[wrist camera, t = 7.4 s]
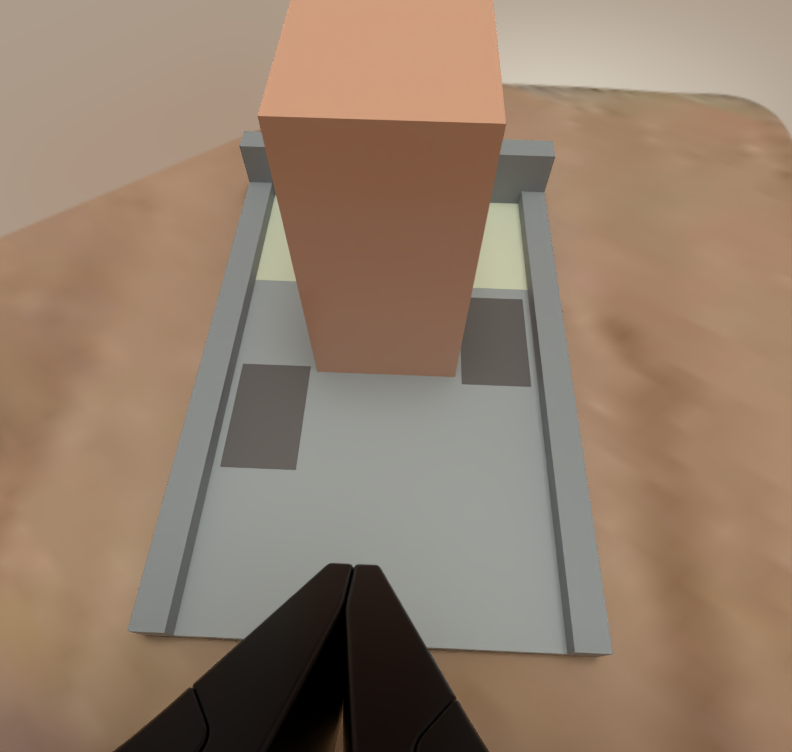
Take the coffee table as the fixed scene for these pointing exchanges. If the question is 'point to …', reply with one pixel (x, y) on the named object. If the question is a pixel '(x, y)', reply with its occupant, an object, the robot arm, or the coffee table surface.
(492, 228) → the slate lane
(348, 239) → the terracotta block
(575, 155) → the coffee table surface
